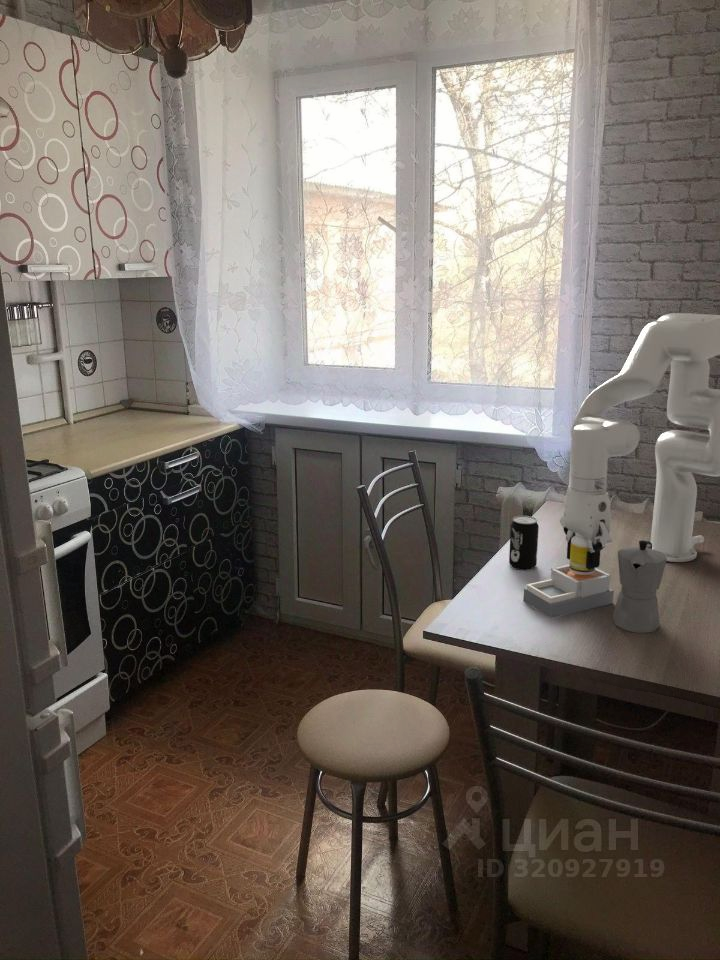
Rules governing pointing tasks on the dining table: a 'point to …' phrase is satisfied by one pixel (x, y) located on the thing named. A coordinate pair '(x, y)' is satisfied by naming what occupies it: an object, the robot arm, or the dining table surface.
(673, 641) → the dining table surface
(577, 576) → the orange rounded capsule
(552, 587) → the grey divided storage tray
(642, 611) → the coffeepot
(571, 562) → the supplement bottle
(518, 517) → the beverage can
